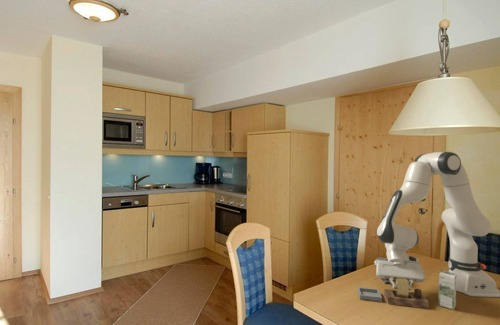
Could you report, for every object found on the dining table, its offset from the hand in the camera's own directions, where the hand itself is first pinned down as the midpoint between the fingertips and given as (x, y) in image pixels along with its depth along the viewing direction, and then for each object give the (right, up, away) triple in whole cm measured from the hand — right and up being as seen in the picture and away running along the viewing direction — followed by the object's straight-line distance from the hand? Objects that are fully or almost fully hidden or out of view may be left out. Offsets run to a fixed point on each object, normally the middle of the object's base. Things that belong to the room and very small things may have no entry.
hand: (402, 289), depth 130 cm
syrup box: (+18, -6, -3) cm, 20 cm away
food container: (+4, -6, +23) cm, 24 cm away
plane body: (+2, -6, 0) cm, 6 cm away
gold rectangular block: (0, -6, +1) cm, 6 cm away
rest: (-13, -6, +5) cm, 15 cm away
